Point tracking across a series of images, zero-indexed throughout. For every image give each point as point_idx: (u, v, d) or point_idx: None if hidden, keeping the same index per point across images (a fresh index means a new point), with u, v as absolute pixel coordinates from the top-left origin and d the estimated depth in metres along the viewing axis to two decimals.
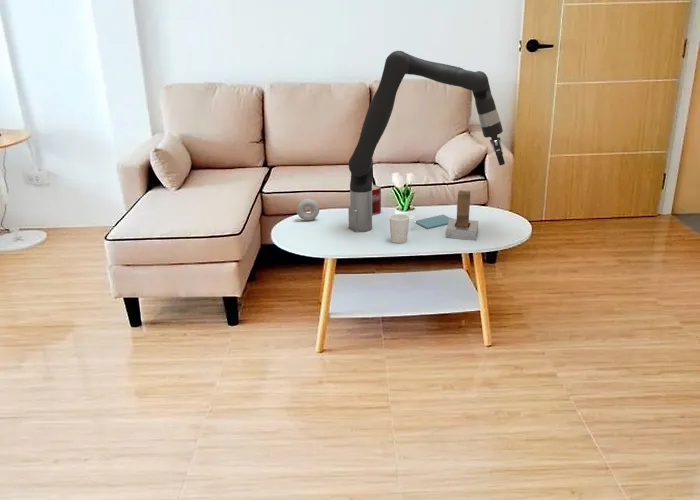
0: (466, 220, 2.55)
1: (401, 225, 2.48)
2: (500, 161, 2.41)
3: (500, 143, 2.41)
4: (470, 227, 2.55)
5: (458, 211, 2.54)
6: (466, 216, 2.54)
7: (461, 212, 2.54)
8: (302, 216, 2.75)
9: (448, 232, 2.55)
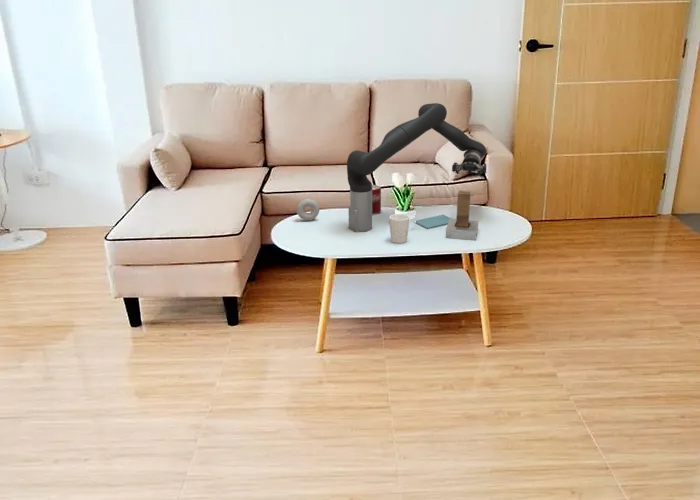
0: (466, 220, 2.55)
1: (401, 225, 2.48)
2: (480, 171, 2.61)
3: (476, 171, 2.67)
4: (470, 227, 2.55)
5: (458, 211, 2.54)
6: (466, 216, 2.54)
7: (461, 212, 2.54)
8: (302, 216, 2.75)
9: (448, 232, 2.55)
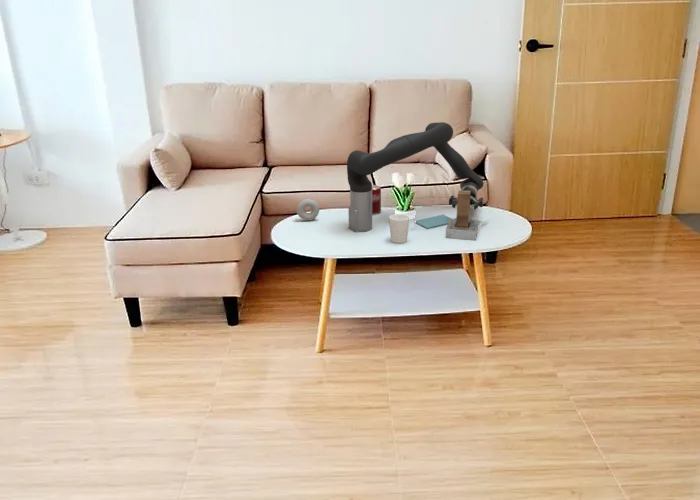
0: (466, 220, 2.55)
1: (401, 225, 2.48)
2: (477, 205, 2.61)
3: None
4: (470, 227, 2.55)
5: (458, 211, 2.54)
6: (466, 216, 2.54)
7: (461, 212, 2.54)
8: (302, 216, 2.75)
9: (448, 232, 2.55)
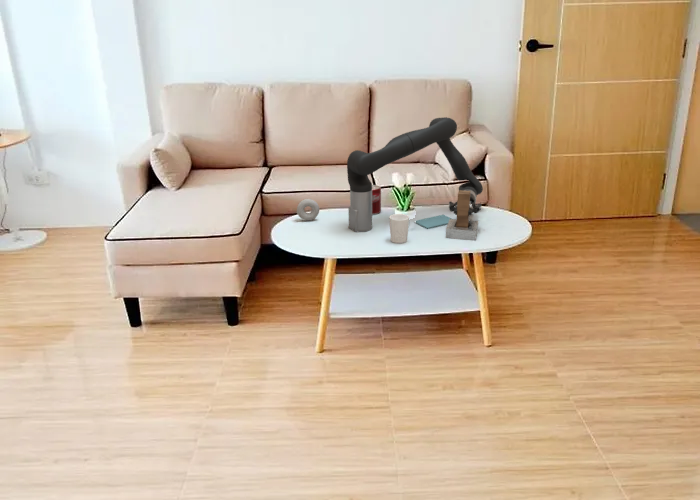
0: (466, 220, 2.55)
1: (401, 225, 2.48)
2: (471, 211, 2.54)
3: None
4: (470, 227, 2.55)
5: (458, 211, 2.54)
6: (466, 216, 2.54)
7: (461, 212, 2.54)
8: (302, 216, 2.75)
9: (448, 232, 2.55)
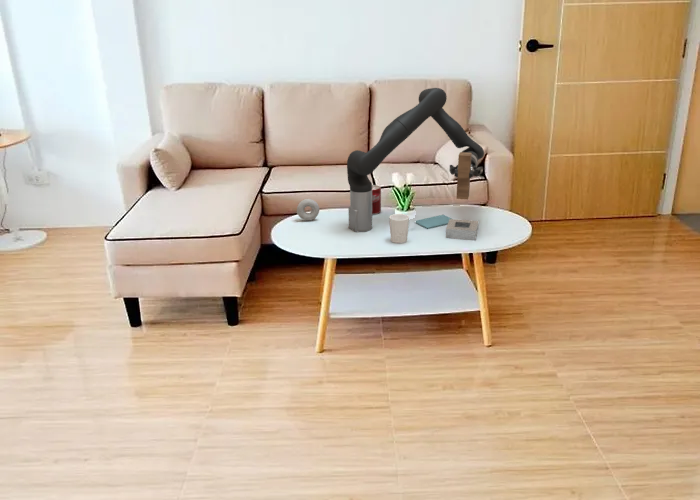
0: (467, 183, 2.49)
1: (401, 225, 2.48)
2: (472, 174, 2.48)
3: None
4: (470, 227, 2.55)
5: (459, 173, 2.48)
6: (467, 178, 2.48)
7: (462, 174, 2.48)
8: (302, 216, 2.75)
9: (448, 232, 2.55)
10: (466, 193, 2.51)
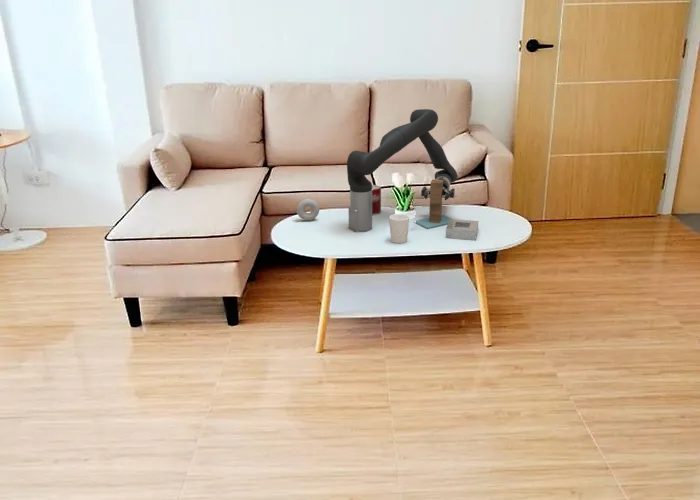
0: (439, 208, 2.68)
1: (401, 225, 2.48)
2: (448, 196, 2.67)
3: (444, 195, 2.73)
4: (470, 227, 2.55)
5: (431, 199, 2.67)
6: (439, 204, 2.67)
7: (434, 200, 2.67)
8: (302, 216, 2.75)
9: (448, 232, 2.55)
10: (438, 217, 2.69)
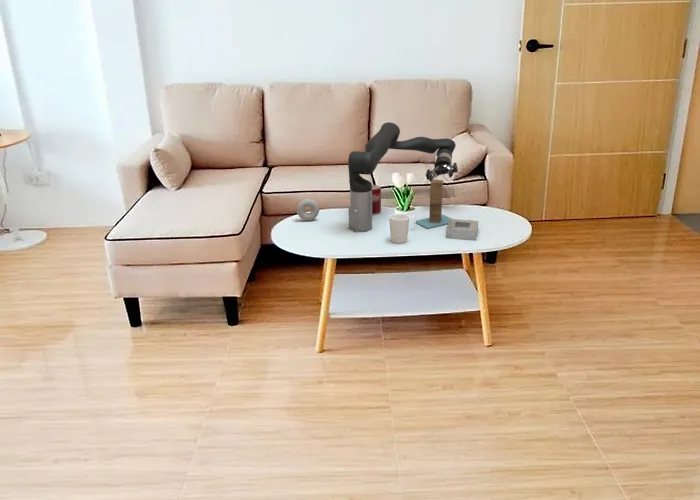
0: (439, 208, 2.68)
1: (401, 225, 2.48)
2: (452, 173, 2.77)
3: (448, 172, 2.83)
4: (470, 227, 2.55)
5: (431, 199, 2.67)
6: (439, 204, 2.67)
7: (434, 200, 2.67)
8: (302, 216, 2.75)
9: (448, 232, 2.55)
10: (438, 217, 2.69)
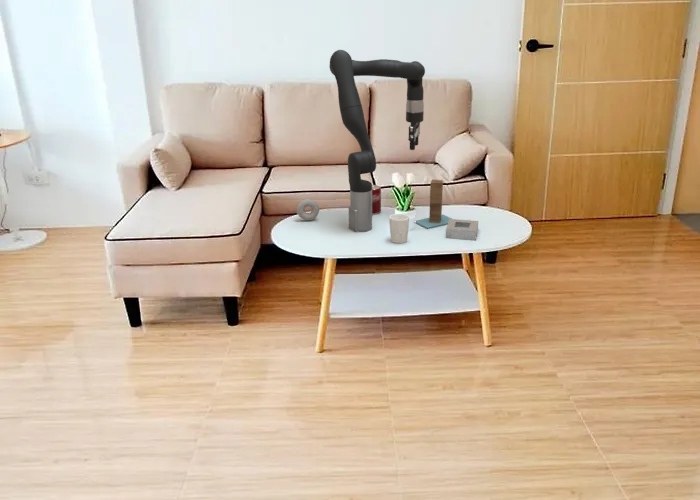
0: (439, 208, 2.68)
1: (401, 225, 2.48)
2: (411, 146, 2.69)
3: (416, 131, 2.68)
4: (470, 227, 2.55)
5: (431, 199, 2.67)
6: (439, 204, 2.67)
7: (434, 200, 2.67)
8: (302, 216, 2.75)
9: (448, 232, 2.55)
10: (438, 217, 2.69)
